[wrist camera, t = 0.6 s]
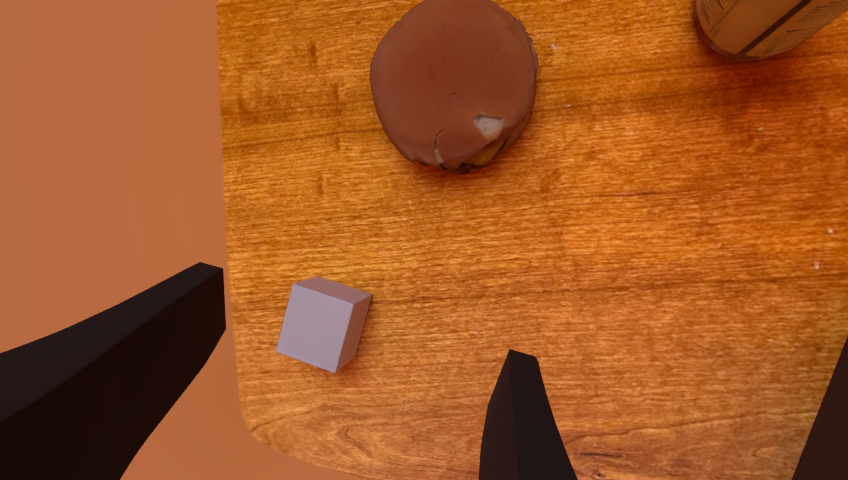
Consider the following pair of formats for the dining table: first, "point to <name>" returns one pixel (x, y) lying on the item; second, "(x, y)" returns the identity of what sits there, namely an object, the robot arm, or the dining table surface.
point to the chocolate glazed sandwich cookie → (454, 83)
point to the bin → (829, 432)
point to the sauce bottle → (762, 24)
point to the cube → (323, 323)
